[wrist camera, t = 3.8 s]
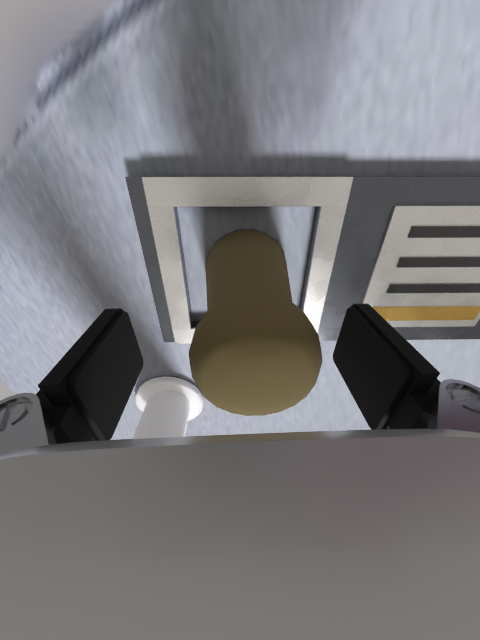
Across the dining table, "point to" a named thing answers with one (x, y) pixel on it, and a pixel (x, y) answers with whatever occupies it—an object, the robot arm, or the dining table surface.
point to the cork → (252, 330)
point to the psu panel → (338, 247)
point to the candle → (166, 407)
